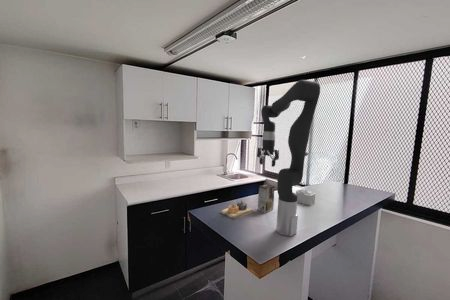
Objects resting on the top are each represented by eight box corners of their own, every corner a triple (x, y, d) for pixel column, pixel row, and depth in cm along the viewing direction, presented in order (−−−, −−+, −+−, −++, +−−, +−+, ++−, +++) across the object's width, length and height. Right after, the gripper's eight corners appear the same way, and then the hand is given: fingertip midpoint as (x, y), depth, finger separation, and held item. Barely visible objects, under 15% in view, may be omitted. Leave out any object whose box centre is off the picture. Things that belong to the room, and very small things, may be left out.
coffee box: (265, 207, 144) (266, 183, 142) (273, 209, 139) (275, 185, 137) (257, 210, 137) (258, 185, 135) (265, 213, 133) (267, 188, 131)
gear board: (253, 211, 134) (254, 201, 134) (234, 219, 123) (235, 207, 122) (239, 206, 143) (239, 196, 142) (220, 212, 131) (221, 201, 131)
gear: (240, 211, 130) (240, 207, 130) (233, 214, 126) (233, 209, 125) (233, 208, 134) (233, 204, 134) (226, 211, 130) (226, 206, 130)
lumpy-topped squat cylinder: (309, 206, 149) (310, 194, 148) (292, 200, 158) (293, 189, 157) (316, 202, 156) (316, 191, 155) (299, 198, 165) (300, 187, 164)
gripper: (282, 139, 126) (280, 166, 128) (262, 138, 137) (261, 163, 138) (275, 139, 121) (273, 168, 123) (255, 138, 132) (254, 164, 133)
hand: (267, 165), depth 131 cm, fingers open, 8 cm apart
